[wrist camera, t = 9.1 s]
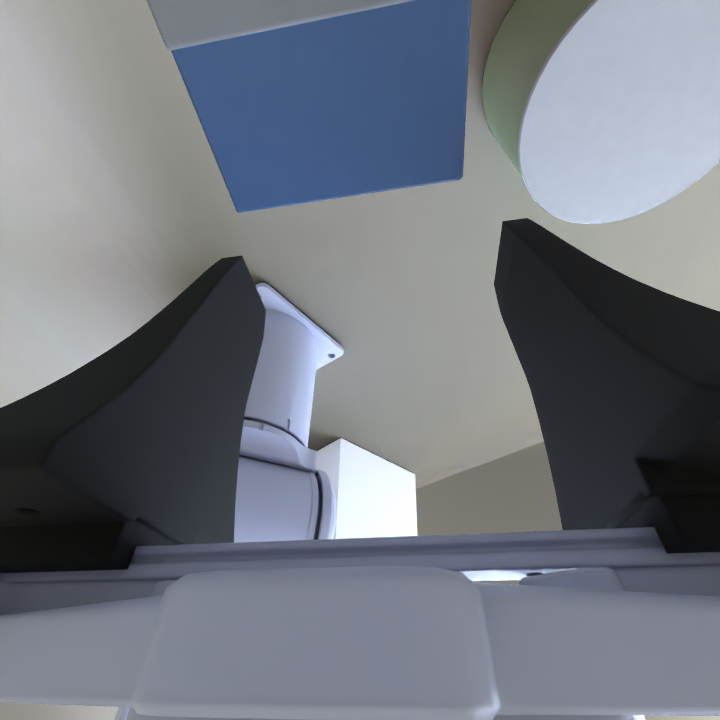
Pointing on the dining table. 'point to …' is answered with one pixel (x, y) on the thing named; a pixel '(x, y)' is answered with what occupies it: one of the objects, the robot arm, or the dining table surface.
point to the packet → (324, 92)
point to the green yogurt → (606, 101)
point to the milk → (368, 493)
